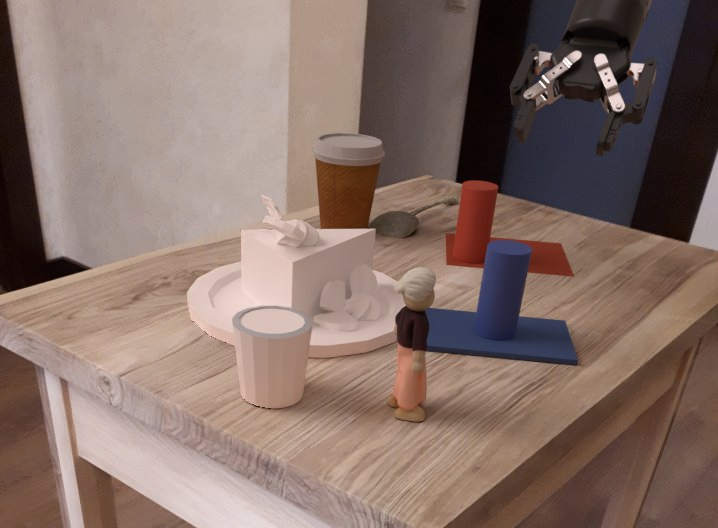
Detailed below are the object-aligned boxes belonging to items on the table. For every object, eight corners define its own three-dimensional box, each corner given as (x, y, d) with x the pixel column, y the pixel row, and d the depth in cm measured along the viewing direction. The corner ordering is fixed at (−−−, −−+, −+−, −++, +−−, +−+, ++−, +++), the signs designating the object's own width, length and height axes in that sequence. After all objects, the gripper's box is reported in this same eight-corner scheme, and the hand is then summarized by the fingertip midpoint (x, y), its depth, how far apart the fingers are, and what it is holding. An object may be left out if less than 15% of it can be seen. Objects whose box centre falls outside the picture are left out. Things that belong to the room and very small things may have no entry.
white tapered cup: (224, 380, 73) (222, 307, 69) (296, 371, 75) (298, 301, 71) (244, 416, 68) (243, 340, 64) (320, 406, 70) (323, 332, 66)
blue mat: (564, 325, 88) (565, 320, 88) (577, 365, 80) (578, 359, 79) (420, 311, 89) (420, 306, 88) (418, 350, 81) (419, 344, 80)
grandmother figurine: (443, 424, 69) (465, 282, 61) (403, 430, 67) (420, 286, 60) (405, 384, 74) (421, 249, 67) (368, 389, 73) (379, 252, 66)
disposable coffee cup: (347, 219, 115) (353, 129, 108) (392, 237, 109) (401, 144, 102) (295, 229, 110) (297, 135, 102) (338, 249, 104) (344, 152, 97)
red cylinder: (485, 253, 104) (497, 182, 99) (487, 264, 101) (499, 191, 95) (452, 250, 104) (462, 178, 99) (452, 261, 101) (463, 188, 96)
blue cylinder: (513, 325, 86) (530, 242, 80) (516, 342, 82) (534, 256, 77) (472, 321, 86) (486, 238, 80) (474, 338, 82) (488, 252, 77)
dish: (258, 378, 73) (257, 258, 67) (152, 286, 90) (143, 182, 83) (460, 329, 85) (477, 223, 79) (334, 256, 102) (339, 163, 95)
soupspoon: (359, 238, 110) (399, 252, 107) (361, 214, 108) (402, 227, 105) (435, 200, 125) (472, 211, 122) (438, 178, 122) (476, 189, 120)
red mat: (560, 247, 110) (561, 243, 110) (573, 281, 100) (574, 276, 99) (444, 237, 111) (445, 232, 110) (445, 269, 100) (446, 264, 100)
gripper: (543, -23, 84) (491, 111, 82) (682, -11, 79) (629, 131, 77) (546, 31, 91) (498, 156, 89) (674, 45, 86) (625, 177, 85)
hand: (559, 144), depth 83 cm, fingers open, 8 cm apart
